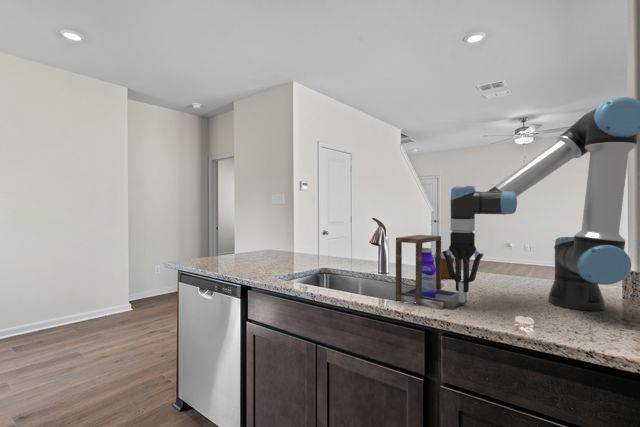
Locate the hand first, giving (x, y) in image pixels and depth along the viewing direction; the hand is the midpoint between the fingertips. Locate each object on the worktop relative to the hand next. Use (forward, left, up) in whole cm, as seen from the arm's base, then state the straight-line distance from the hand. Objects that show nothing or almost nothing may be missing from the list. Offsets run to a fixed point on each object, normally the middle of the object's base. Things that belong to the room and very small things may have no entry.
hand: (462, 301), depth 109 cm
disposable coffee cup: (+21, -41, -2) cm, 46 cm away
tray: (+10, 0, -2) cm, 10 cm away
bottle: (+13, 0, -1) cm, 13 cm away
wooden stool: (+12, 0, -2) cm, 12 cm away
